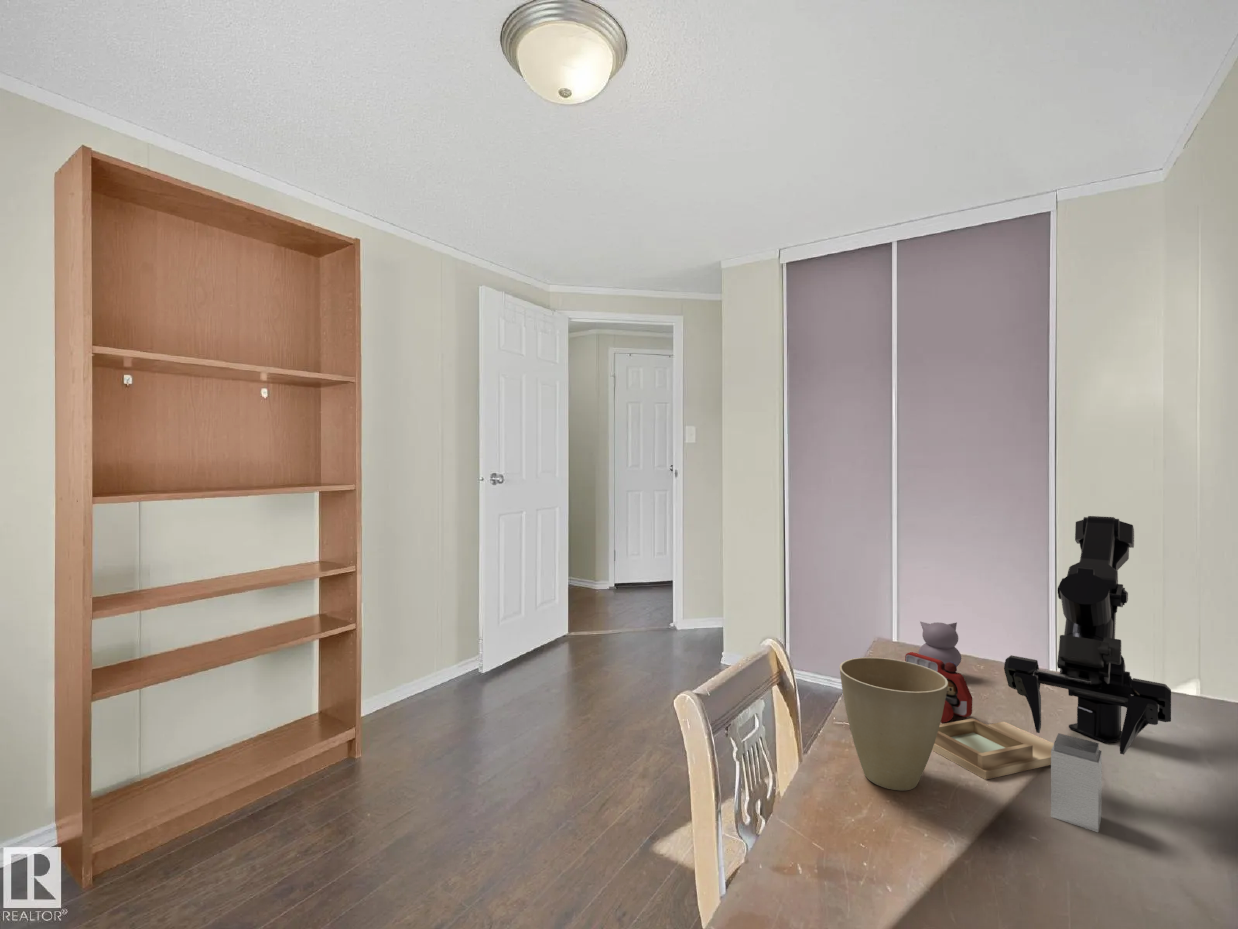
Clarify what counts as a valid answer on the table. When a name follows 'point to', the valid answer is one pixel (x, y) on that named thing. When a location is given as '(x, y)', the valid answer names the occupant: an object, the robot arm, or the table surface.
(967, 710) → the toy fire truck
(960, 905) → the table surface
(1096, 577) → the robot arm
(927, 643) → the cat figurine
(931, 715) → the plant pot
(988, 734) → the wooden tray
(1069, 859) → the table surface
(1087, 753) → the grey lidded container
